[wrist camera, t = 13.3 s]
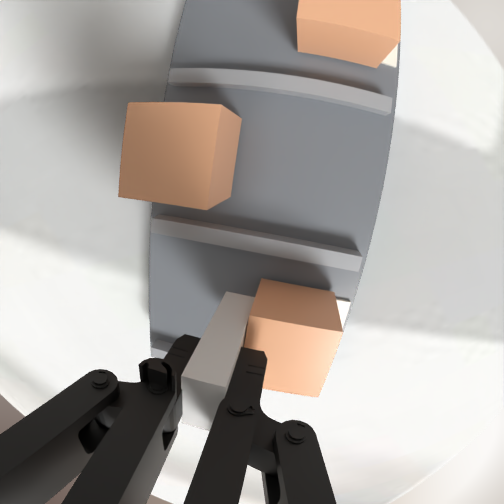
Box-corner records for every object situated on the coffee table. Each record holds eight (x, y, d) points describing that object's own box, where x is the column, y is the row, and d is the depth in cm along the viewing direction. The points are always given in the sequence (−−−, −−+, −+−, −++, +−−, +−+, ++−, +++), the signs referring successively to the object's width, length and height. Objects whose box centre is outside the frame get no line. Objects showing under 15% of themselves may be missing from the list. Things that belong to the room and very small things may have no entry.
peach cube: (167, 113, 14) (128, 102, 10) (241, 118, 13) (221, 104, 10) (159, 186, 15) (118, 196, 11) (230, 196, 15) (206, 210, 11)
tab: (305, -7, 11) (305, -48, 7) (379, 8, 10) (399, -28, 7) (297, 51, 12) (296, 17, 8) (376, 68, 12) (400, 41, 8)
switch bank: (207, -26, 13) (193, -48, 10) (391, -4, 11) (404, -26, 9) (161, 332, 21) (144, 355, 18) (322, 367, 20) (323, 395, 17)
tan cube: (261, 278, 16) (249, 315, 12) (334, 291, 15) (343, 332, 12) (250, 338, 17) (237, 383, 13) (316, 350, 17) (318, 397, 13)
